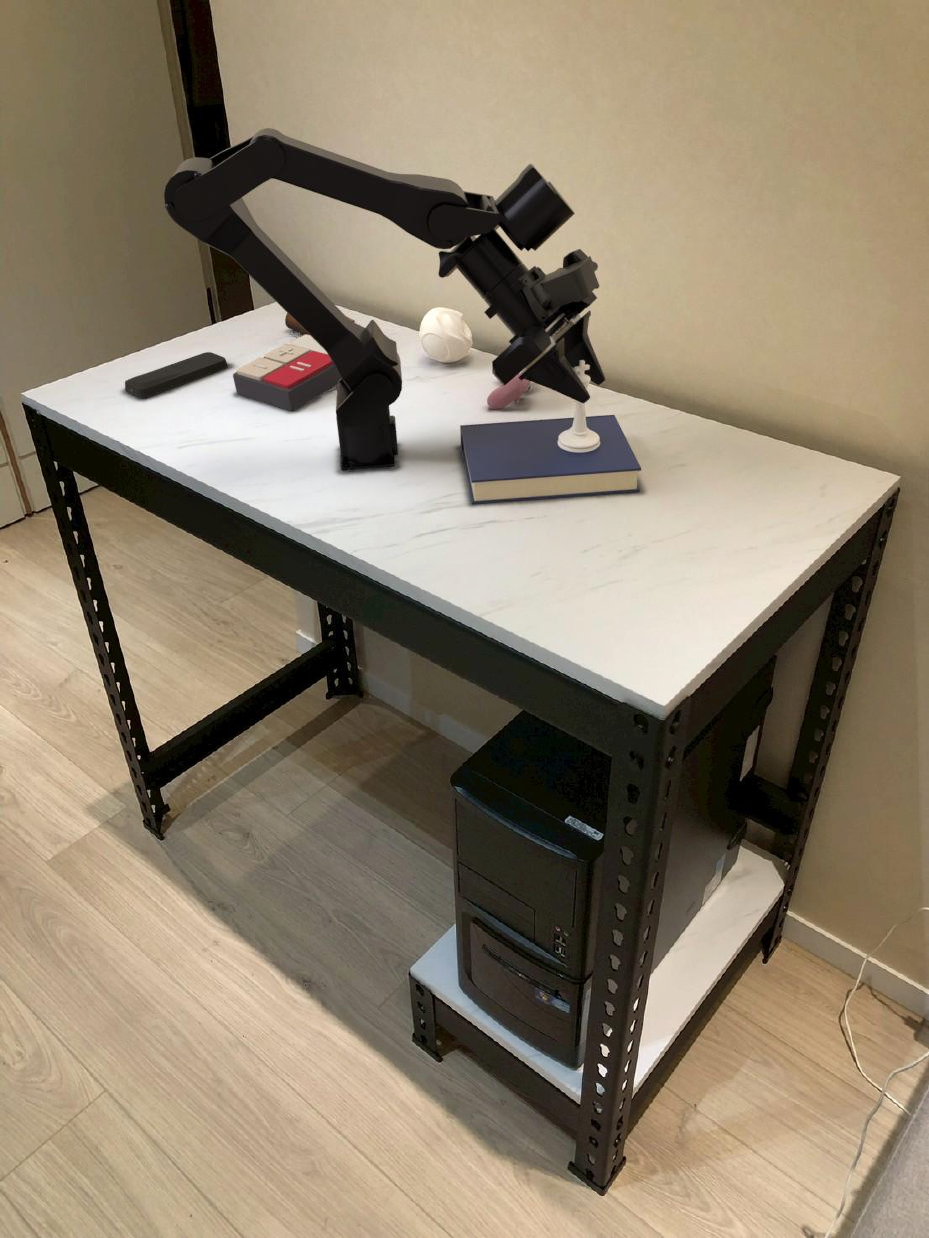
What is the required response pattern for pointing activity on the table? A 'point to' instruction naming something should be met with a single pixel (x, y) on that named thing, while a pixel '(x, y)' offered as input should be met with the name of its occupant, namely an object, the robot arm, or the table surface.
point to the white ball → (445, 335)
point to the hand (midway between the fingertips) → (594, 391)
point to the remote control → (175, 374)
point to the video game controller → (508, 392)
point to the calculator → (288, 375)
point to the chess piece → (579, 423)
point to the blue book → (545, 461)
